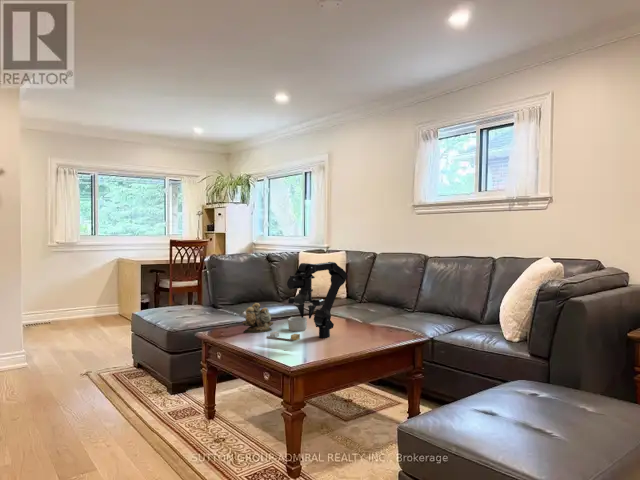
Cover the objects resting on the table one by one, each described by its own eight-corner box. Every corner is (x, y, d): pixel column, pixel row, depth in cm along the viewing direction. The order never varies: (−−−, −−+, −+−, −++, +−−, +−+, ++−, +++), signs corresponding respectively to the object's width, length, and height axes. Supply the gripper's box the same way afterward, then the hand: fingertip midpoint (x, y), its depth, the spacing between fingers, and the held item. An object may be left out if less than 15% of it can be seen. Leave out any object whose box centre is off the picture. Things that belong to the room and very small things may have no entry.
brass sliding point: (294, 338, 234) (294, 333, 234) (299, 338, 233) (299, 334, 233) (289, 340, 230) (289, 335, 230) (294, 341, 228) (294, 336, 228)
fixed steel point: (274, 335, 241) (274, 331, 241) (279, 336, 239) (279, 332, 239) (268, 338, 236) (268, 333, 236) (272, 338, 234) (272, 334, 234)
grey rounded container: (309, 333, 252) (309, 319, 252) (291, 335, 248) (291, 320, 248) (301, 328, 265) (301, 315, 265) (283, 330, 261) (283, 316, 261)
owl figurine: (246, 336, 244) (245, 305, 244) (238, 333, 255) (238, 303, 254) (276, 333, 253) (276, 303, 253) (268, 329, 264) (267, 300, 263)
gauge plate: (277, 335, 246) (277, 331, 246) (306, 339, 237) (306, 335, 237) (262, 341, 234) (262, 336, 234) (292, 345, 225) (292, 340, 225)
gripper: (282, 288, 226) (282, 319, 226) (314, 290, 217) (314, 322, 217) (293, 286, 236) (293, 315, 236) (324, 288, 227) (325, 318, 227)
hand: (306, 318), depth 229 cm, fingers open, 4 cm apart
